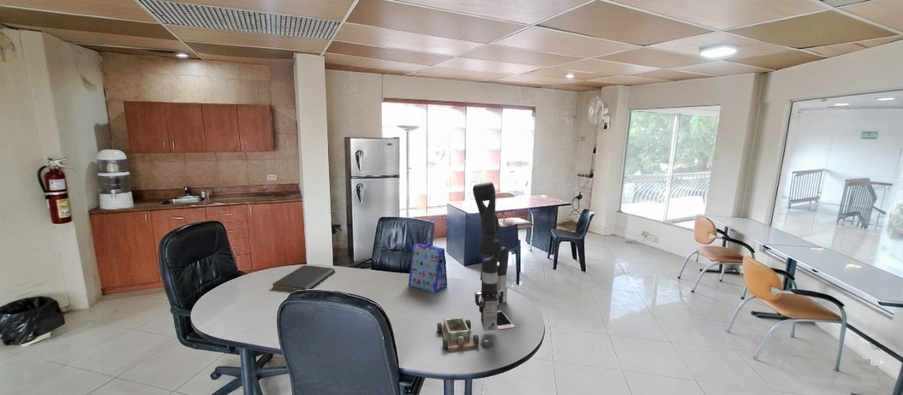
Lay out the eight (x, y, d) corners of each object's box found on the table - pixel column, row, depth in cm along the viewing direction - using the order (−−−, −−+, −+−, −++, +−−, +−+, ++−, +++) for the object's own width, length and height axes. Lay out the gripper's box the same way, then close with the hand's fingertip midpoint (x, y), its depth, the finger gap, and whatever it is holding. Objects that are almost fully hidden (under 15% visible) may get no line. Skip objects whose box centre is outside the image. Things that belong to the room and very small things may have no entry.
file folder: (303, 264, 259) (335, 268, 254) (304, 270, 260) (335, 273, 255) (271, 283, 227) (307, 287, 222) (272, 289, 228) (307, 294, 223)
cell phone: (498, 330, 184) (498, 328, 184) (485, 313, 201) (485, 311, 201) (515, 328, 187) (515, 326, 187) (500, 311, 204) (500, 309, 204)
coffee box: (480, 321, 184) (480, 291, 181) (493, 320, 184) (493, 290, 181) (483, 331, 175) (484, 299, 172) (497, 330, 175) (497, 299, 172)
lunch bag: (447, 286, 234) (448, 243, 229) (435, 294, 223) (435, 248, 218) (420, 278, 246) (420, 237, 241) (407, 285, 235) (407, 242, 229)
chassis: (468, 325, 188) (468, 315, 187) (479, 347, 169) (479, 336, 168) (436, 328, 185) (436, 318, 184) (444, 351, 166) (444, 340, 165)
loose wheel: (489, 341, 174) (490, 337, 174) (493, 347, 169) (493, 343, 169) (479, 342, 173) (479, 338, 173) (482, 348, 168) (482, 344, 168)
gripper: (501, 275, 180) (500, 306, 183) (472, 278, 177) (472, 309, 180) (506, 281, 173) (505, 314, 176) (477, 284, 170) (476, 317, 173)
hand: (488, 311), depth 178 cm, fingers closed on coffee box, 6 cm apart
